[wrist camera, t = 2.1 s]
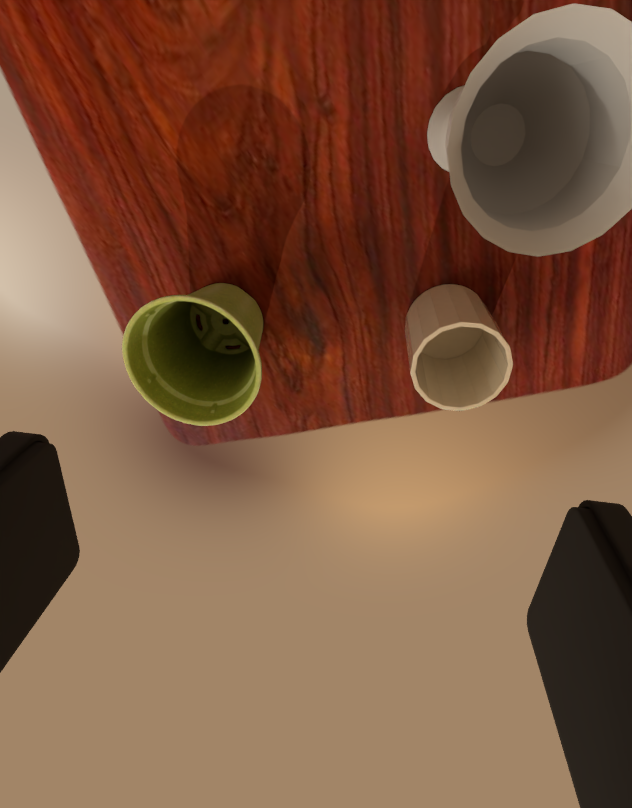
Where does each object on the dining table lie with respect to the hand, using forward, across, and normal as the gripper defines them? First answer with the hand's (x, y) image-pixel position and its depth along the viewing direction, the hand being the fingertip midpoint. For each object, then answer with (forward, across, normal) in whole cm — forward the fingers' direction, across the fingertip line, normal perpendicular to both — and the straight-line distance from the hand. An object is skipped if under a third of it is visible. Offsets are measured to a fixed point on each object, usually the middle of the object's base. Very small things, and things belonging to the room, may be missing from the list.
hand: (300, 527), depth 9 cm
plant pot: (+31, +10, +7) cm, 33 cm away
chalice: (+30, -6, -7) cm, 32 cm away
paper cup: (+31, -7, +6) cm, 32 cm away
